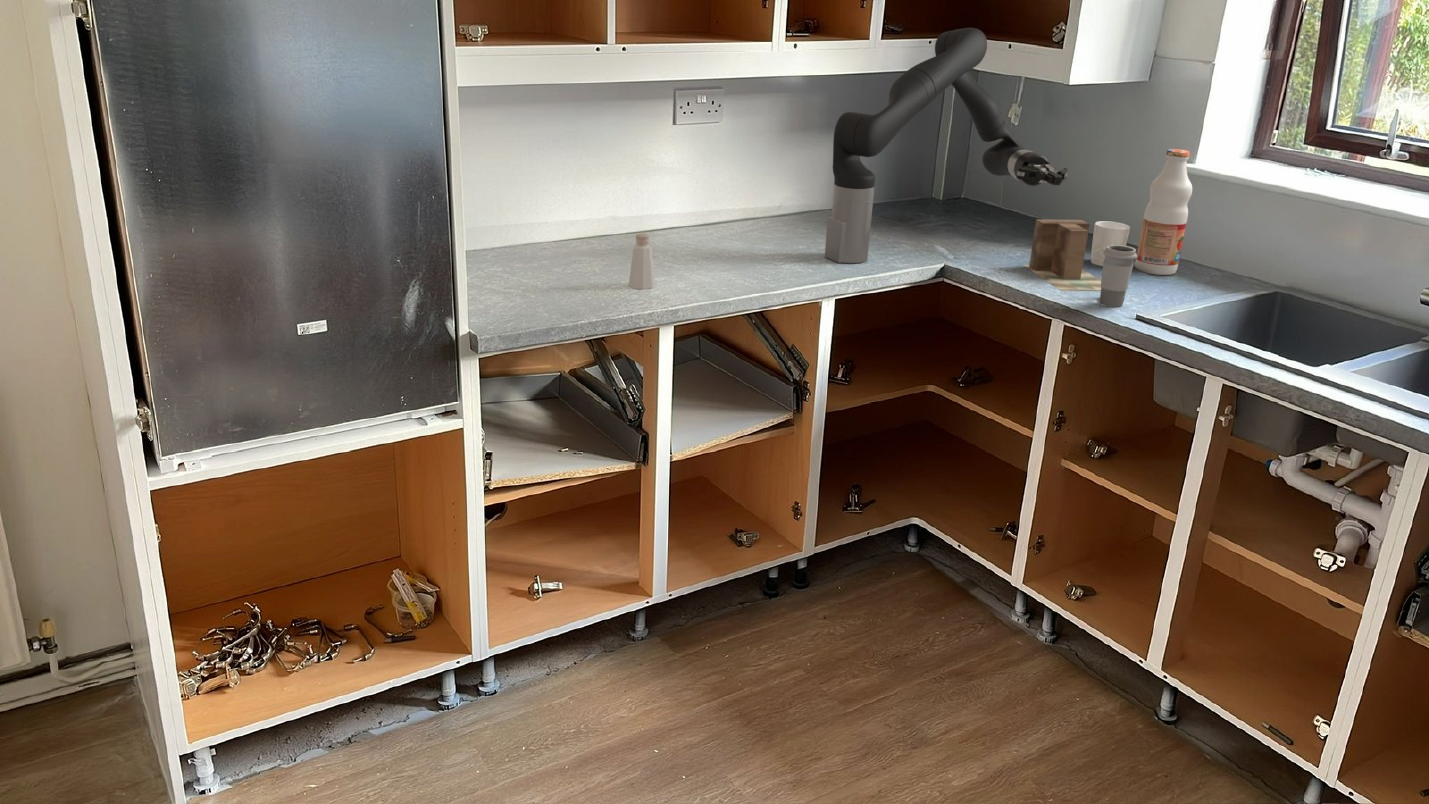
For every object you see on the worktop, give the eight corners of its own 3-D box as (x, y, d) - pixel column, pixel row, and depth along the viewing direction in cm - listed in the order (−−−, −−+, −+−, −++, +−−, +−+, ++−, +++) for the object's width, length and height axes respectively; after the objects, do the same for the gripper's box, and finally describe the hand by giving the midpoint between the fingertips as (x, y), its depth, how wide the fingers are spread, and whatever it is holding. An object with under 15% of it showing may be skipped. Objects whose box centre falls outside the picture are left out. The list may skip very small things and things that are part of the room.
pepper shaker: (639, 280, 232) (640, 229, 228) (659, 285, 230) (661, 234, 225) (623, 286, 228) (623, 234, 224) (643, 291, 225) (644, 238, 221)
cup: (1102, 297, 235) (1112, 242, 231) (1132, 304, 231) (1143, 248, 227) (1088, 303, 230) (1098, 247, 226) (1119, 310, 226) (1130, 254, 222)
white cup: (1125, 265, 262) (1133, 224, 258) (1118, 272, 256) (1126, 230, 252) (1091, 260, 266) (1099, 219, 262) (1084, 267, 259) (1091, 225, 256)
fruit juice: (1127, 264, 263) (1149, 146, 252) (1165, 265, 264) (1188, 147, 253) (1144, 275, 254) (1168, 153, 244) (1183, 276, 255) (1208, 154, 244)
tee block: (1029, 266, 254) (1036, 219, 250) (1073, 266, 256) (1081, 219, 252) (1048, 279, 244) (1056, 230, 240) (1095, 279, 246) (1103, 231, 242)
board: (1022, 268, 256) (1023, 265, 255) (1075, 268, 257) (1076, 265, 257) (1060, 294, 236) (1061, 290, 236) (1117, 294, 238) (1117, 290, 238)
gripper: (1004, 151, 265) (1032, 163, 249) (1056, 152, 267) (1087, 164, 251) (1000, 182, 268) (1027, 196, 252) (1051, 182, 270) (1082, 197, 254)
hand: (1057, 180), depth 252 cm, fingers closed
